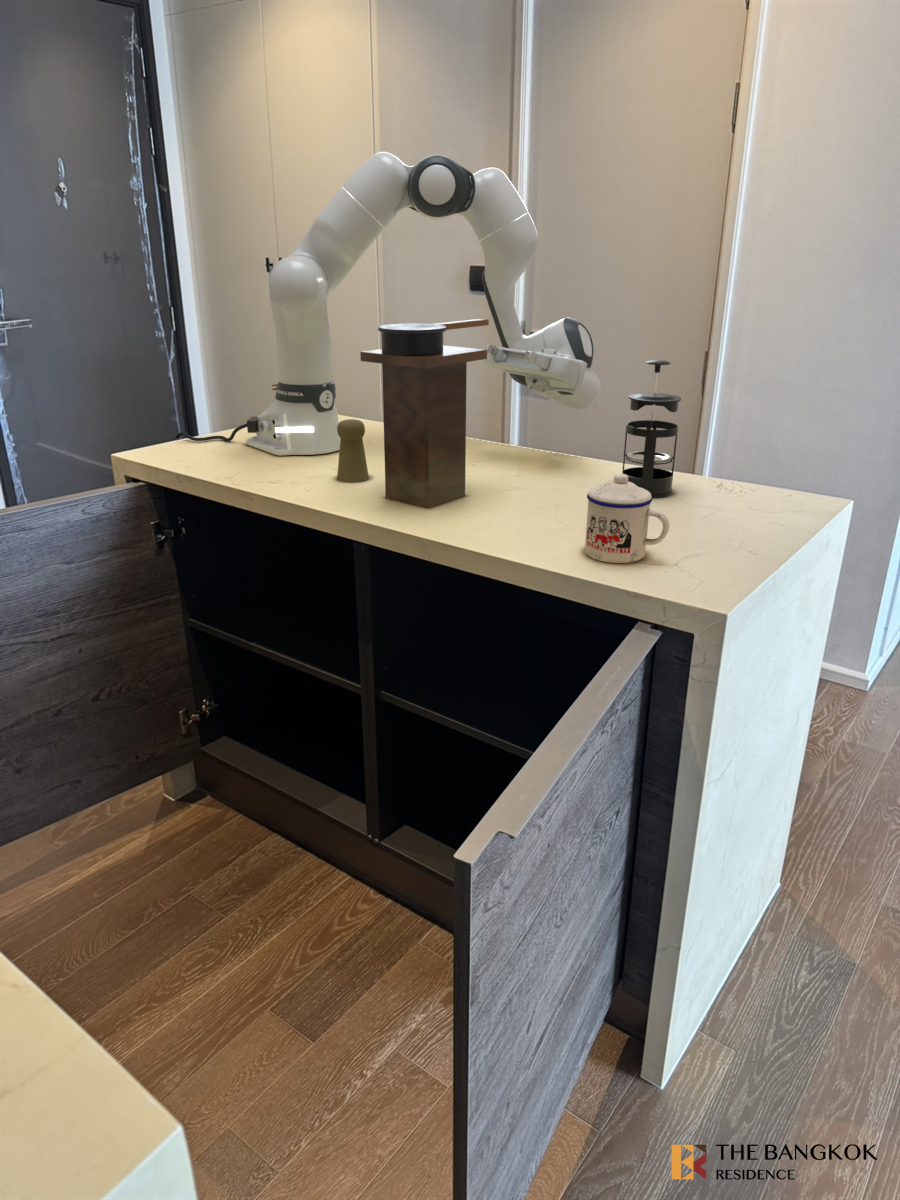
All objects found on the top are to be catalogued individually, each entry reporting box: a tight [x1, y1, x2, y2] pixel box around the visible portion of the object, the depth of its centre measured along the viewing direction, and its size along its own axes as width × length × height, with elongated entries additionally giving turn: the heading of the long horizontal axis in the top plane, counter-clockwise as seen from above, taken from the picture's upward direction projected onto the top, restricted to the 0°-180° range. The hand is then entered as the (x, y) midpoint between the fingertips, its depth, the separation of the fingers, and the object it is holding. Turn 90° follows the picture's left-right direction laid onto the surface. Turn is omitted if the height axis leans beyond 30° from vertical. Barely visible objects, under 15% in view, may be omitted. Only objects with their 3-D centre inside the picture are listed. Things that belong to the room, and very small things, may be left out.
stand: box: [359, 344, 487, 509], centre depth 147 cm, size 14×16×25 cm
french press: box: [621, 359, 682, 499], centre depth 152 cm, size 12×9×23 cm
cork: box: [336, 418, 370, 483], centre depth 162 cm, size 6×6×11 cm
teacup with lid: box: [584, 473, 670, 564], centre depth 122 cm, size 12×9×12 cm
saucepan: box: [377, 318, 490, 356], centre depth 145 cm, size 11×25×4 cm, turn 141°
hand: (507, 352), depth 161 cm, fingers open, 8 cm apart
